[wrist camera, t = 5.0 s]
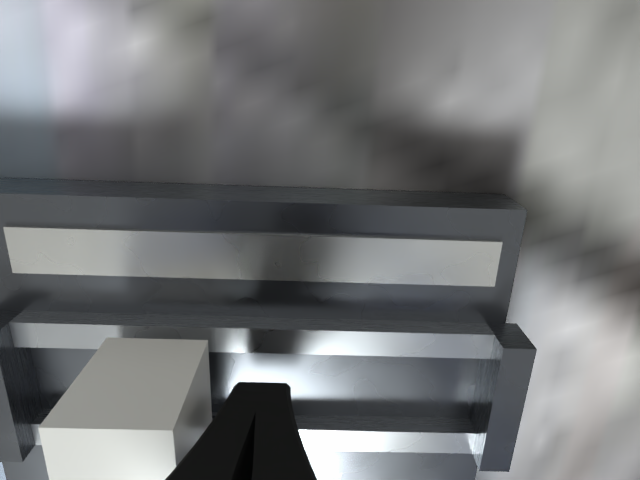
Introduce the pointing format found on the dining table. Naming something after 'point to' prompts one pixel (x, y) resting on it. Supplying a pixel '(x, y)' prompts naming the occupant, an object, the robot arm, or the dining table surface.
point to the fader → (130, 411)
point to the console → (277, 311)
